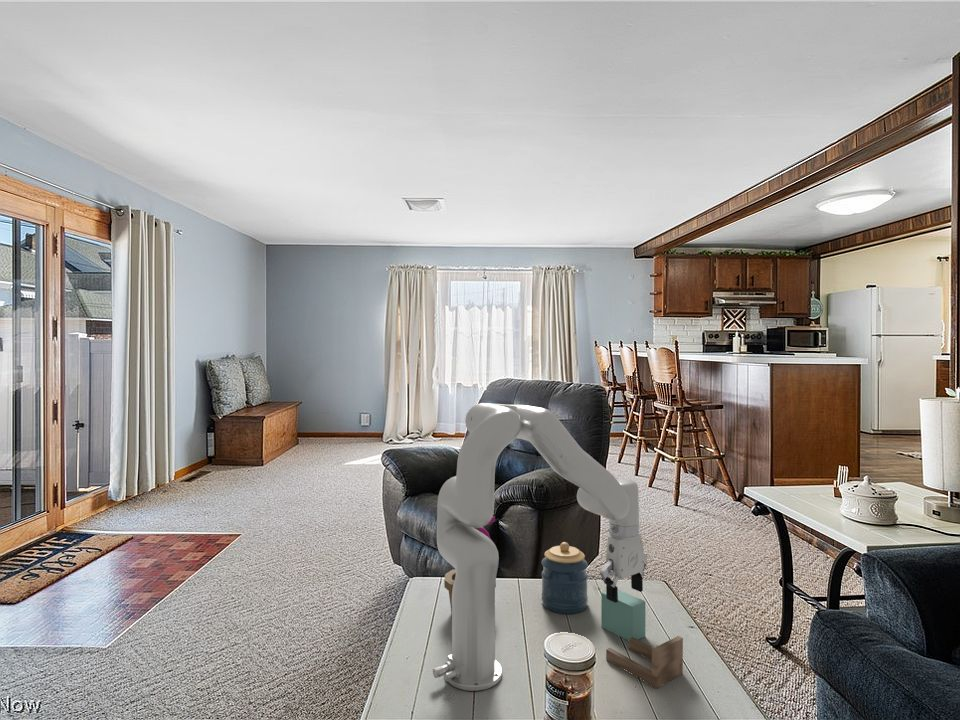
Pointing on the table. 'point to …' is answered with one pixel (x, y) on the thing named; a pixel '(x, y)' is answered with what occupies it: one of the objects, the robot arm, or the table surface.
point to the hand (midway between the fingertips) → (624, 595)
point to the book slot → (663, 660)
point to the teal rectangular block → (623, 615)
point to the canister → (564, 579)
